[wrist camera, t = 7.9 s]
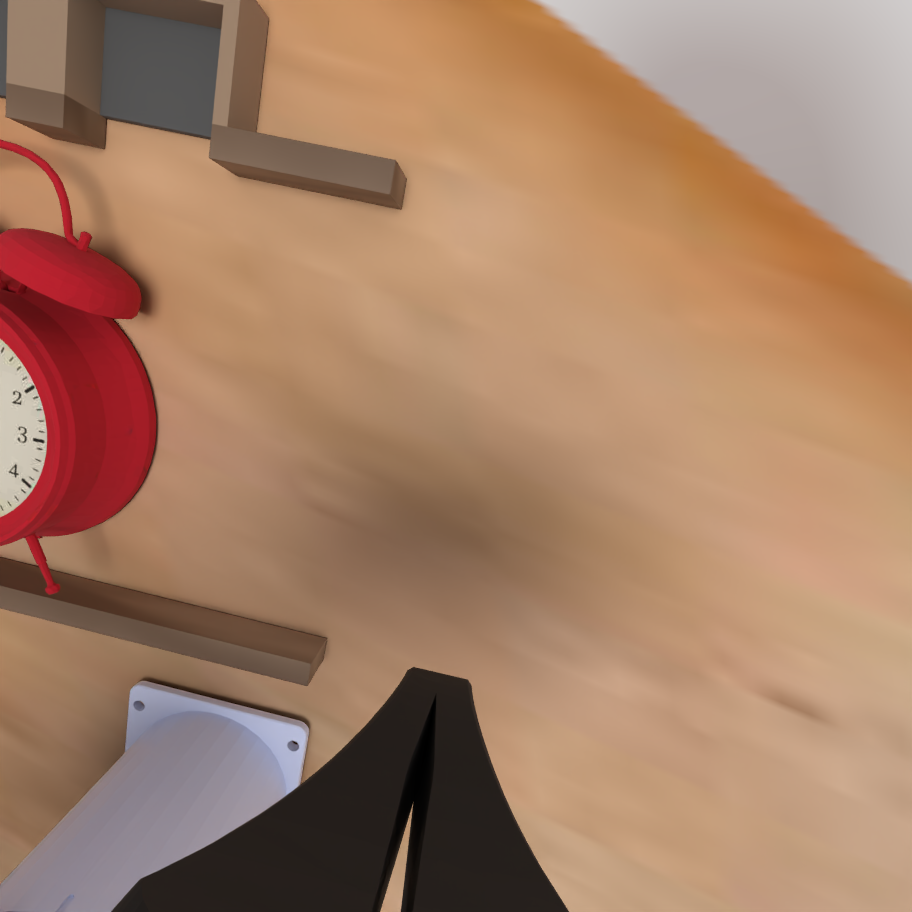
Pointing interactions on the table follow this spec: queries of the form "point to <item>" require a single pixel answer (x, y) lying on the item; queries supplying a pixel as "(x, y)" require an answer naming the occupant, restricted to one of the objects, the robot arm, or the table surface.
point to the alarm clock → (66, 385)
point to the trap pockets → (141, 58)
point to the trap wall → (147, 613)
